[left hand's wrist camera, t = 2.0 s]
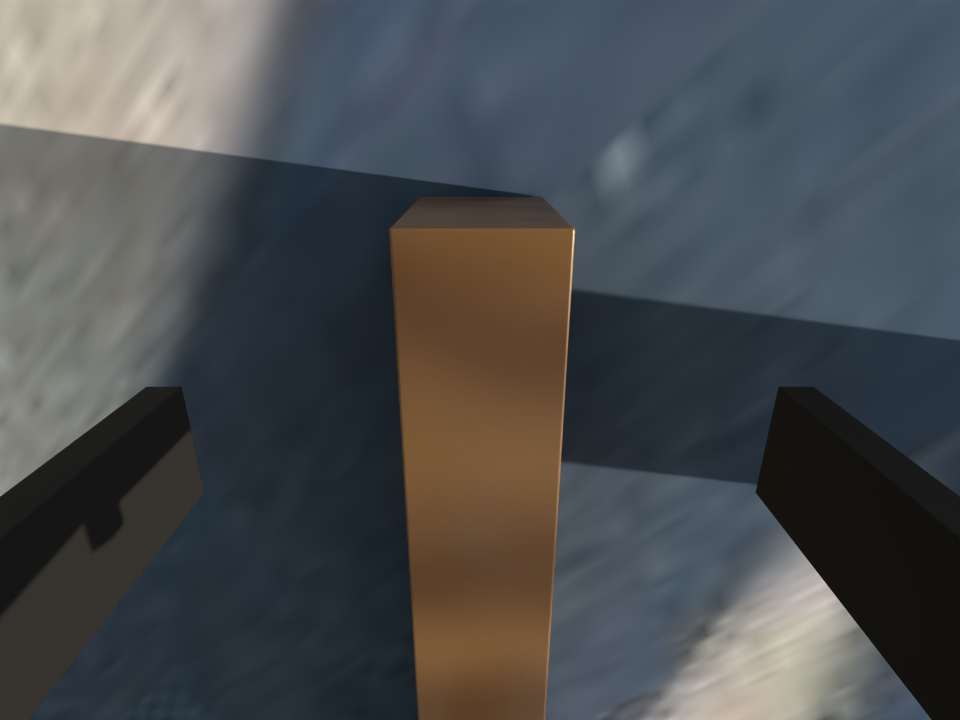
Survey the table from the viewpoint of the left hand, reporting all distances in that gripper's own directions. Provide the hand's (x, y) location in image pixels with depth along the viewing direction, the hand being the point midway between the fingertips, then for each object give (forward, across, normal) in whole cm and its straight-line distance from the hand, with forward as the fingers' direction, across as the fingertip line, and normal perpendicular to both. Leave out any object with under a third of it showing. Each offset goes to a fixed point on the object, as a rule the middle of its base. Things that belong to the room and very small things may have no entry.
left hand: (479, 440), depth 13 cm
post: (+12, 0, -25) cm, 28 cm away
